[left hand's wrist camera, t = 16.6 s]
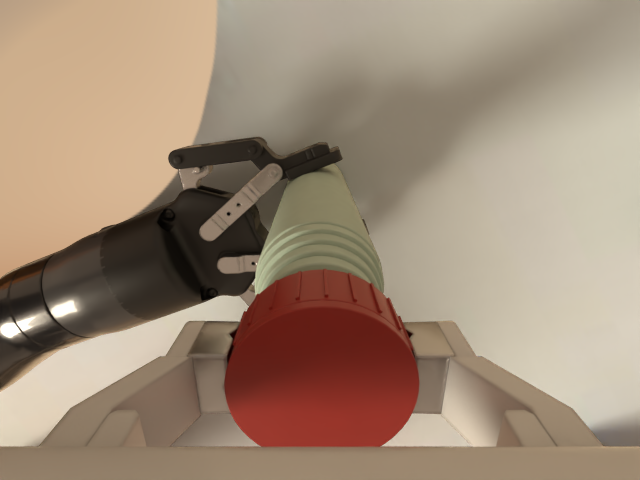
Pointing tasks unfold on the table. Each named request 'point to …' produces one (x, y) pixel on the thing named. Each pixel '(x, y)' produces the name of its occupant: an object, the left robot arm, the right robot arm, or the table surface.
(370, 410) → the cap
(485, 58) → the table surface
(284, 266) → the bottle
